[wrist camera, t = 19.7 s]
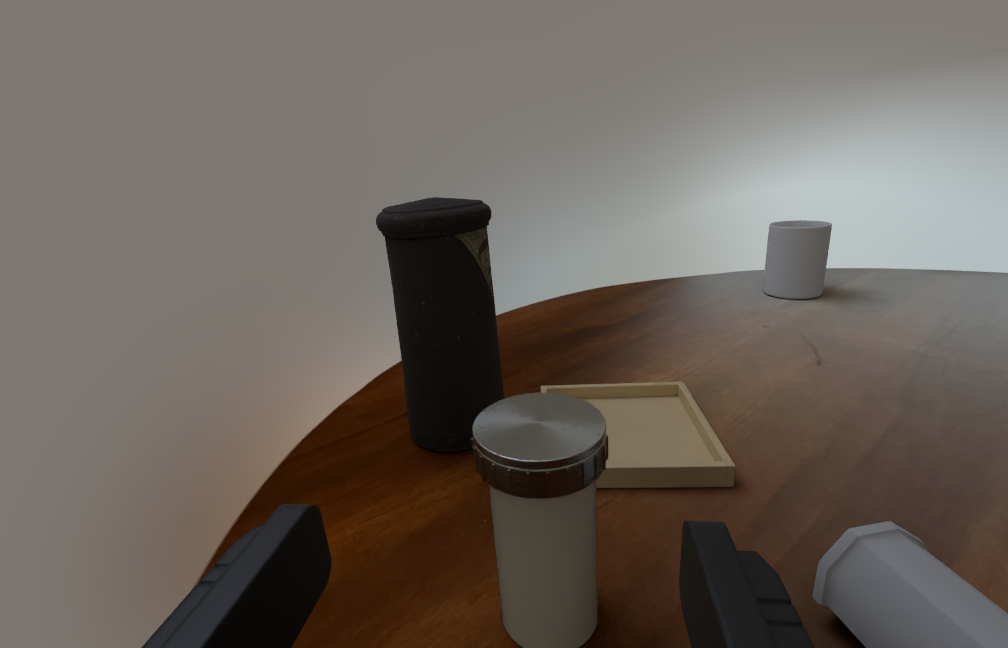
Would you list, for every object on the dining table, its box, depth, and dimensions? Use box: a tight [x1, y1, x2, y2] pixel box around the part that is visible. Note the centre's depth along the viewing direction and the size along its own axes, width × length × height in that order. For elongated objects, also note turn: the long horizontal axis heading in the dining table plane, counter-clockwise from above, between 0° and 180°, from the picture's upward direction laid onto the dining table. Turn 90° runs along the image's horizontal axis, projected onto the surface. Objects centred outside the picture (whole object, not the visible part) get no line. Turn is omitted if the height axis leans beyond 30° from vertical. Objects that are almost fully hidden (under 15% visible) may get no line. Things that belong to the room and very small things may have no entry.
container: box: [376, 198, 504, 451], centre depth 40 cm, size 9×9×20 cm
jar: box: [488, 481, 598, 648], centre depth 23 cm, size 5×5×10 cm
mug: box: [763, 221, 832, 299], centre depth 75 cm, size 12×8×10 cm, turn 165°
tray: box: [541, 382, 735, 488], centre depth 39 cm, size 13×13×2 cm
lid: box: [472, 393, 608, 499], centre depth 22 cm, size 6×6×2 cm
